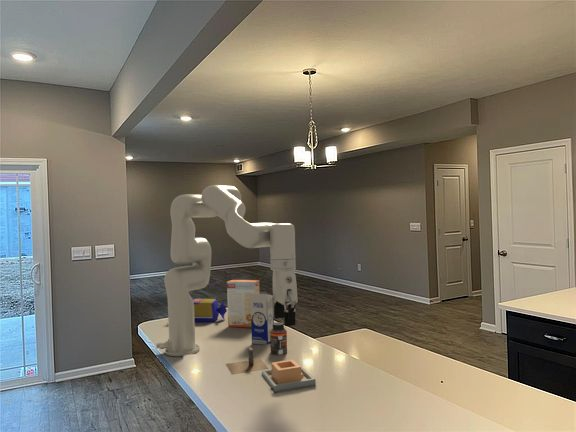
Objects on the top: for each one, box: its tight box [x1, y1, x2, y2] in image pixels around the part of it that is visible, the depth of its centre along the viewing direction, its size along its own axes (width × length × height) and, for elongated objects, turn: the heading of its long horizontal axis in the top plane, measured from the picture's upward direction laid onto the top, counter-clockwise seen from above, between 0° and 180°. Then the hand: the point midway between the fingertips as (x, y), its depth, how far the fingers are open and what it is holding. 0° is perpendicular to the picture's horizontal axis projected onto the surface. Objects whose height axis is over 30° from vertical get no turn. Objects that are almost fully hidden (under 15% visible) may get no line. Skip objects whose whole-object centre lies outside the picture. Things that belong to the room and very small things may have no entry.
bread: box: [192, 298, 228, 323], centre depth 203 cm, size 10×25×10 cm, turn 83°
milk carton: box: [250, 291, 275, 346], centre depth 164 cm, size 7×7×20 cm
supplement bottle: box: [269, 321, 288, 356], centre depth 148 cm, size 6×6×11 cm
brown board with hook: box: [225, 346, 270, 375], centre depth 135 cm, size 12×10×6 cm
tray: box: [261, 364, 317, 394], centre depth 124 cm, size 13×13×2 cm
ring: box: [270, 359, 304, 384], centre depth 124 cm, size 9×7×4 cm
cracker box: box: [226, 279, 261, 328], centre depth 190 cm, size 14×6×21 cm, turn 71°
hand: (284, 321), depth 124 cm, fingers open, 9 cm apart
